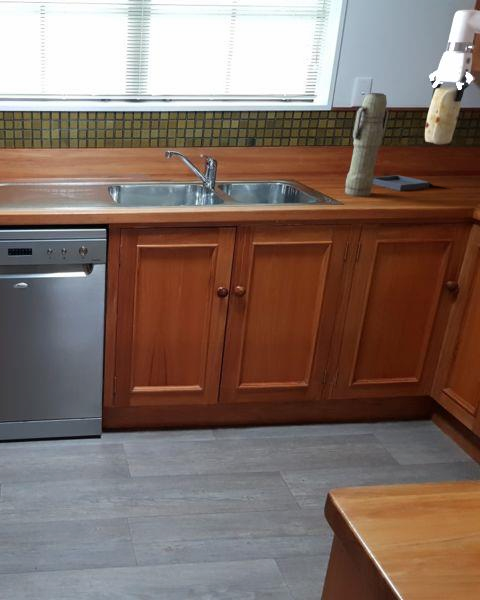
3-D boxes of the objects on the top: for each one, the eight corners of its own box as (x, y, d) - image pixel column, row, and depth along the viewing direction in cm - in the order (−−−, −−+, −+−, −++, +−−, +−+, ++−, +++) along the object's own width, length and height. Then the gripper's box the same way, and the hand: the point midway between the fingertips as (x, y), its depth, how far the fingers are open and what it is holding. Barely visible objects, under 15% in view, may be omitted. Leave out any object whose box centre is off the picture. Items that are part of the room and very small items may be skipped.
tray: (428, 188, 234) (430, 182, 233) (399, 191, 228) (401, 185, 227) (396, 180, 246) (397, 175, 245) (368, 183, 240) (369, 177, 239)
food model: (450, 143, 228) (464, 87, 220) (451, 145, 223) (465, 88, 215) (421, 141, 232) (434, 85, 224) (421, 143, 227) (434, 87, 219)
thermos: (379, 195, 221) (400, 94, 207) (353, 197, 217) (373, 94, 203) (360, 190, 228) (379, 92, 215) (335, 192, 224) (353, 92, 211)
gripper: (489, 49, 209) (475, 102, 216) (443, 48, 223) (431, 98, 230) (475, 48, 206) (461, 102, 213) (429, 47, 220) (417, 98, 227)
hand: (446, 100), depth 221 cm, fingers closed on food model, 8 cm apart
